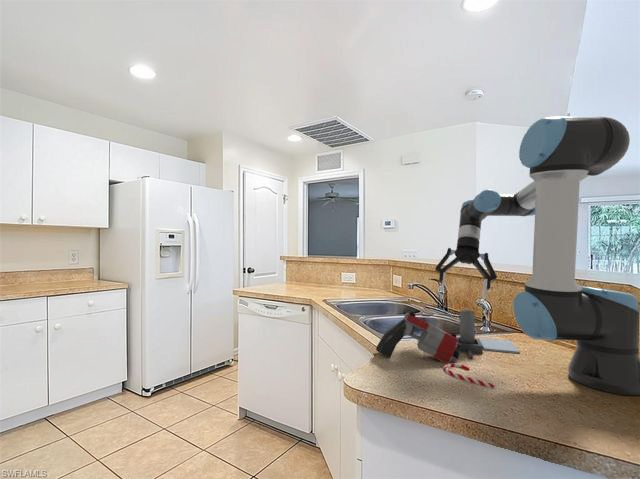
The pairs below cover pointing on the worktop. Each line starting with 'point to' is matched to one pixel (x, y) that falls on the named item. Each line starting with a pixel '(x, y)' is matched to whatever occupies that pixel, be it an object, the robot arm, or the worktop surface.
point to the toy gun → (421, 339)
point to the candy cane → (446, 369)
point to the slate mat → (498, 345)
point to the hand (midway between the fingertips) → (462, 294)
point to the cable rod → (467, 326)
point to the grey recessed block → (471, 348)
